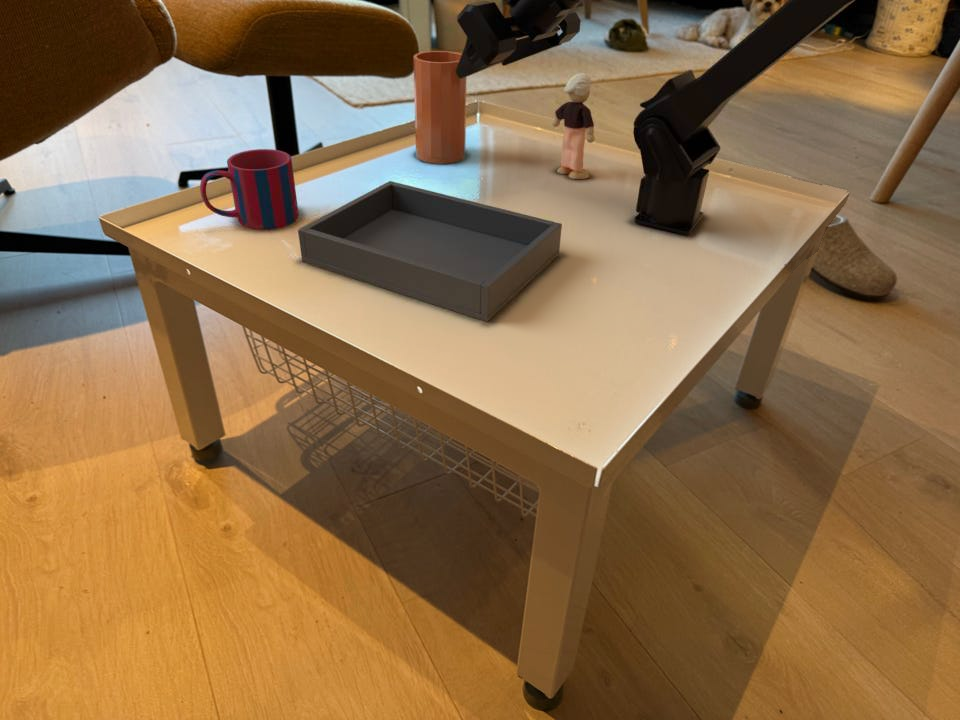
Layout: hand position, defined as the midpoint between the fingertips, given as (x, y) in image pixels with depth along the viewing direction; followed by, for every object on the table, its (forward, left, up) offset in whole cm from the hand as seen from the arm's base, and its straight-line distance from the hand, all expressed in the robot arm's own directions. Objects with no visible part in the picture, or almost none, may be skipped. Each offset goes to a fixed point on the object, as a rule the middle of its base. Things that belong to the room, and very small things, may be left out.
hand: (480, 68), depth 87 cm
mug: (+12, +29, -13) cm, 34 cm away
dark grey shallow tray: (-10, +26, -13) cm, 31 cm away
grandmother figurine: (-12, -5, -13) cm, 18 cm away
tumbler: (+6, -1, -13) cm, 14 cm away
